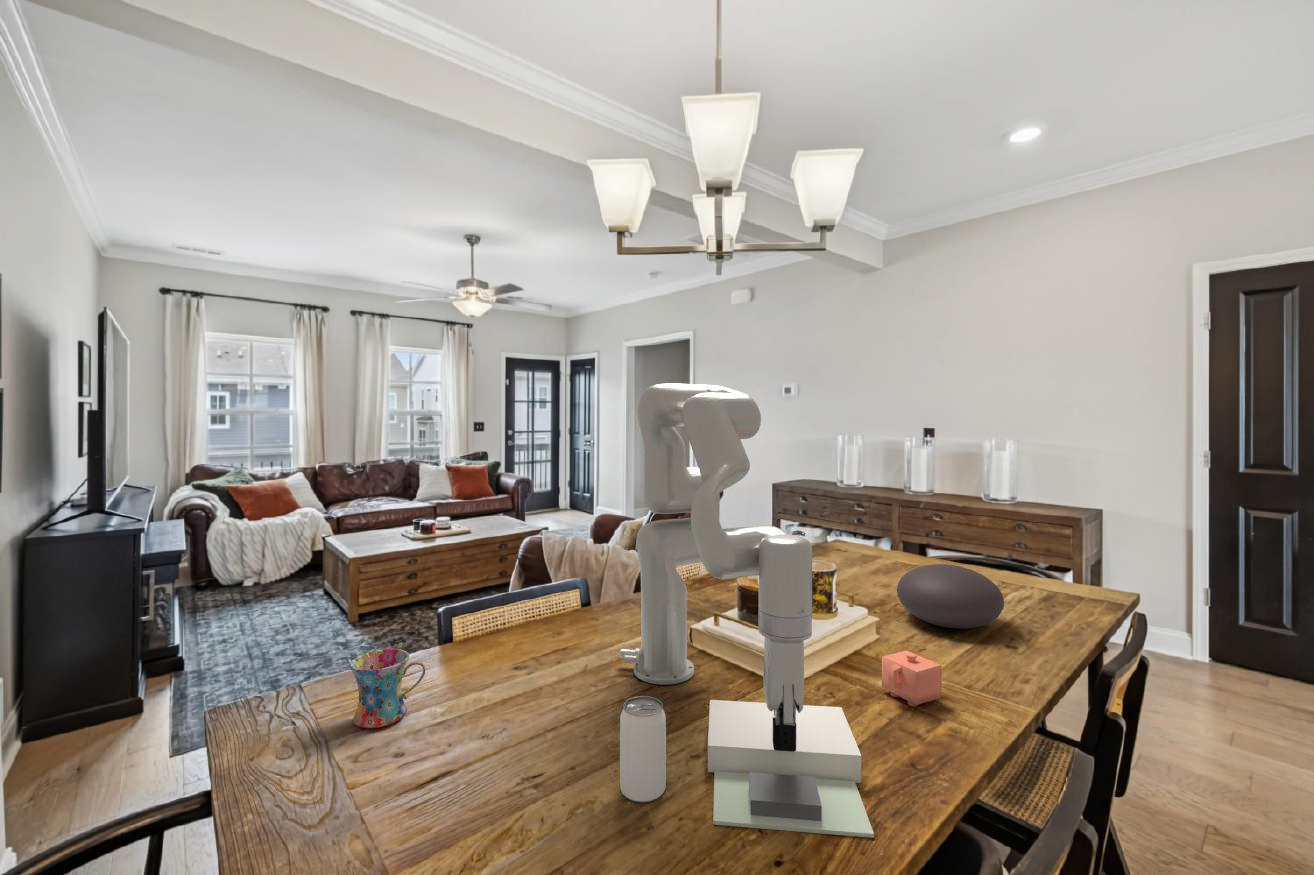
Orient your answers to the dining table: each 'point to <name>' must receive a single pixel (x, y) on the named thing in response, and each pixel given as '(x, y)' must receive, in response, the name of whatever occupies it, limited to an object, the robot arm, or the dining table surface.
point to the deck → (748, 747)
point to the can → (642, 749)
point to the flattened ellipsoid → (950, 596)
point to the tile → (784, 796)
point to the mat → (838, 818)
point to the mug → (381, 686)
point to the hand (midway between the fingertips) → (784, 747)
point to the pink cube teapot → (911, 677)
